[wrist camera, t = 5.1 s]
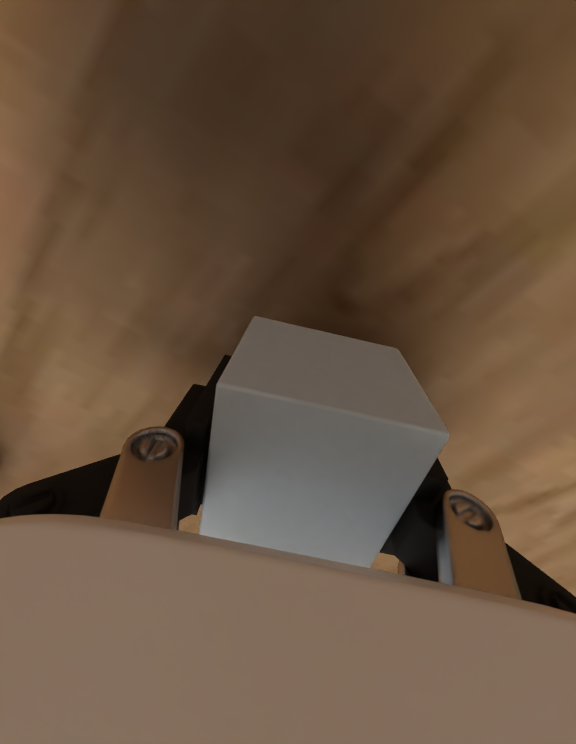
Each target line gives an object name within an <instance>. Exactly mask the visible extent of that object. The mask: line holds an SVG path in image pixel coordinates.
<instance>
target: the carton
mask: <svg viewBox="0 0 576 744" xmlns="http://www.w3.org/2000/svg"><path fill="white" fill-rule="evenodd" d="M449 437H450V433H449V431H448V430H447V428H446V426H445V425H444V423H443V421H442V420H441V418H440V416H439V415H438V413H437V412H436V410H435V408H434V407H433V405H432V403H431V402H430V400H429V398H428V397H427V395H426V394H425V392H424V390H423V389H422V387H421V385H420V384H419V382H418V380H417V379H416V377H415V376H414V374H413V372H412V371H411V369H410V367H409V366H408V364H407V362H406V361H405V359H404V357H403V356H402V354H401V353H400V351H399V349H397V348H393V347H389V346H384V345H380V344H376V343H371V342H367V341H363V340H358V339H354V338H349V337H345V336H341V335H336V334H332V333H328V332H323V331H319V330H315V329H310V328H306V327H302V326H297V325H293V324H288V323H284V322H280V321H275V320H271V319H267V318H262V317H258V316H254V317H253V319H252V320H251V322H250V324H249V326H248V328H247V330H246V331H245V333H244V335H243V337H242V339H241V341H240V342H239V344H238V346H237V348H236V350H235V352H234V353H233V355H232V357H231V359H230V361H229V363H228V364H227V366H226V368H225V370H224V372H223V373H222V375H221V377H220V379H219V381H218V383H217V384H216V393H215V401H214V410H213V418H212V427H211V435H210V444H209V452H208V461H207V469H206V478H205V486H204V495H203V504H202V512H201V521H200V529H199V535H204V536H209V537H215V538H220V539H225V540H230V541H235V542H240V543H245V544H251V545H256V546H261V547H266V548H271V549H276V550H281V551H286V552H291V553H296V554H301V555H306V556H311V557H316V558H321V559H326V560H331V561H336V562H341V563H346V564H351V565H356V566H361V567H366V568H370V566H371V565H372V563H373V561H374V560H375V558H376V557H377V555H378V553H379V552H380V550H381V548H382V547H383V545H384V543H385V542H386V540H387V539H388V537H389V535H390V534H391V532H392V530H393V529H394V527H395V526H396V524H397V522H398V521H399V519H400V517H401V516H402V514H403V513H404V511H405V509H406V508H407V506H408V504H409V503H410V501H411V499H412V498H413V496H414V495H415V493H416V491H417V490H418V488H419V486H420V485H421V483H422V482H423V480H424V478H425V477H426V475H427V473H428V472H429V470H430V468H431V467H432V465H433V464H434V462H435V460H436V459H437V457H438V455H439V454H440V452H441V451H442V449H443V447H444V446H445V444H446V442H447V441H448V439H449Z"/></svg>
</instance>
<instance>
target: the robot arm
mask: <svg viewBox="0 0 576 744" xmlns="http://www.w3.org/2000/svg"><path fill="white" fill-rule="evenodd" d="M231 357H232V356H229V355H224V357H223V359H222V360H221V362H220V364H219V365H218V367H217V369H216V370H215V372H214V374H213V375H212V377H211V379H210V380H209V382H208V384H207V385H206V386H202V385H197V384H193V386H192V387H191V388H190V390H189V391H188V393H187V394H186V396H185V397H184V399H183V400H182V401H181V403H180V404H179V406H178V407H177V409H176V410H175V412H174V413H173V415H172V416H171V418H170V419H169V421H168V422H167V424H166V425H165V426H164V427H159V426H158V427H148V428H145V429H141V430H139V431H137V432H135V433H133V434H132V435H131V436H130V437H129V438H128V439H127V440H126V442H125V444H124V446H123V449H122V452H121V454H119V455H116V456H113V457H110V458H107V459H104V460H101V461H98V462H95V463H91V464H88V465H85V466H82V467H79V468H76V469H73V470H70V471H67V472H64V473H61V474H57V475H54V476H51V477H48V478H45V479H42V480H39V481H36V482H33V483H30V484H27V485H25V486H22V487H20V488H17V489H15V490H14V491H12V492H10V493H9V494H7V495H6V496H4V497H3V498H2V499H1V500H0V744H576V597H575V596H573V595H572V594H571V593H570V592H568V591H567V590H566V589H565V588H563V587H562V586H561V585H559V584H558V583H557V582H555V581H554V580H553V579H552V578H550V577H549V576H548V575H546V574H545V573H544V572H543V571H541V570H540V569H539V568H537V567H536V566H535V565H533V564H532V563H531V562H530V561H528V560H527V559H526V558H524V557H523V556H522V555H521V554H519V553H518V552H517V551H515V550H514V549H513V548H511V547H510V546H509V545H508V544H506V543H505V542H504V538H503V535H502V532H501V528H500V525H499V522H498V520H497V518H496V516H495V515H494V513H493V512H492V511H491V509H490V508H489V507H488V506H487V505H485V504H484V503H483V502H482V501H481V500H479V499H478V498H477V497H475V496H473V495H471V494H469V493H467V492H465V491H462V490H458V489H451V487H450V485H449V483H448V481H447V480H448V478H447V476H446V474H445V472H444V470H443V468H442V466H441V464H440V462H439V460H438V458H437V459H436V460H435V462H434V464H433V465H432V467H431V468H430V470H429V472H428V473H427V475H426V477H425V478H424V480H423V482H422V483H421V485H420V486H419V488H418V490H417V491H416V493H415V495H414V496H413V498H412V499H411V501H410V503H409V504H408V506H407V508H406V509H405V511H404V513H403V514H402V516H401V517H400V519H399V521H398V522H397V524H396V526H395V527H394V529H393V530H392V532H391V534H390V535H389V537H388V539H387V540H386V542H385V543H384V545H383V547H382V548H381V550H380V553H385V554H390V555H395V556H396V557H397V558H398V559H399V563H398V574H396V573H391V572H386V571H381V570H376V569H371V568H366V567H361V566H356V565H351V564H346V563H341V562H336V561H331V560H326V559H321V558H316V557H311V556H306V555H301V554H296V553H291V552H286V551H281V550H276V549H271V548H266V547H261V546H256V545H251V544H245V543H240V542H235V541H230V540H225V539H220V538H215V537H209V536H204V535H199V534H194V533H189V532H184V531H178V530H179V520H181V519H183V518H185V517H187V516H189V515H191V514H193V515H197V512H198V510H199V507H200V504H203V495H204V486H205V478H206V469H207V461H208V452H209V444H210V435H211V427H212V418H213V410H214V401H215V393H216V384H217V383H218V381H219V379H220V377H221V375H222V373H223V372H224V370H225V368H226V366H227V364H228V363H229V361H230V359H231Z"/></svg>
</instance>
